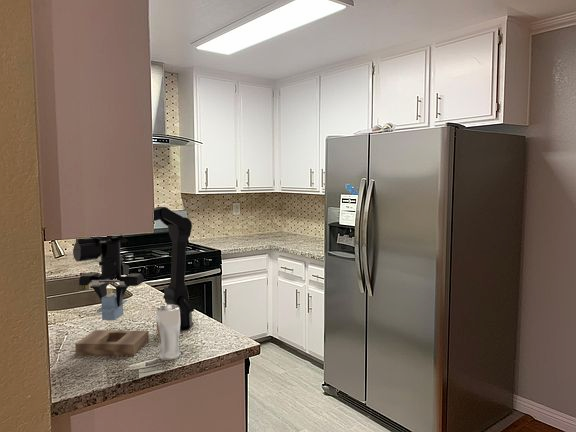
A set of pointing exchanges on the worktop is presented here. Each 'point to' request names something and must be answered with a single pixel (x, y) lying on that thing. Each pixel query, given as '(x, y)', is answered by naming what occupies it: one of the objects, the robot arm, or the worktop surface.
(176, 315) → the beer glass
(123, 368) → the worktop surface
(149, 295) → the worktop surface
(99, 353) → the plate
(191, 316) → the robot arm
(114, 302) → the block
